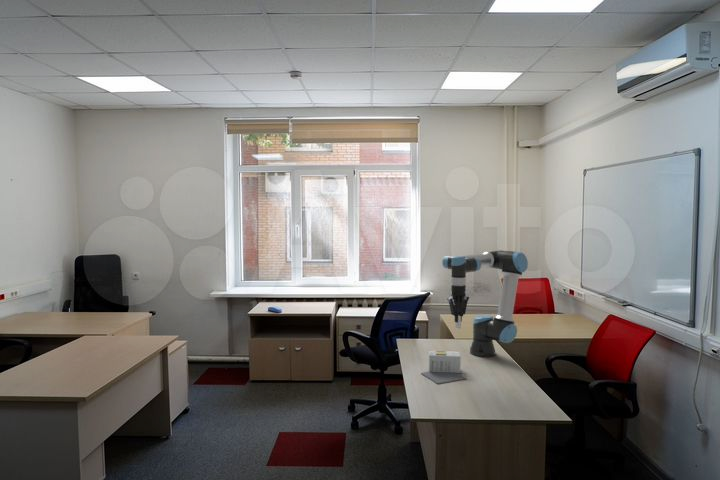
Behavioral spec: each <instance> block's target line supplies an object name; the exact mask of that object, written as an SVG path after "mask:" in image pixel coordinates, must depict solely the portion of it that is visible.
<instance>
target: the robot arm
mask: <svg viewBox="0 0 720 480" xmlns="http://www.w3.org/2000/svg"><path fill="white" fill-rule="evenodd" d="M441 263H442V266H443V268H444V269H446V270H447V269H448V270H451V281H450V282H451V288H450V289H451V290H450V291H451V294H450V297H447V298H446V299H447V301H448V303H449V304H448V305H449V308H450V314H451V315H452V316H454V322H455V328H456V329H461V328H462V321H463V317H464V315H466V311H467V306H468V302H469V299H470V296H468V295H467V294H466V287H467V286H466V284H467V283H466V280H467V277H466V276H467V275H466V274H467V273H474V272H477V271H478V272H479V271H480V270H481V268H483V267H484V268H491V269H498V270H501V273H502V275H503V278H502V284H501V290H500V296H499V297H500V298H499V303H498V308H497V309H498V310H497V315H495V316H494V317H493V316H492V315H477V316H475V317H474V318H473V322H472V323H473V327H472V330H473V331H472V332H473V333H472V337H473V338H472V339H473V340H472V342H471V346H470V349H469V353H470V354H471V355H473V356H477V357H482V358H485V357H487V358H489V357H493V356H495V355H496V349H495V346H494V341H496V342H499V343H504V344H505V343H506V344H511V343H512V342H513V341H514V340H515V338H516V337H517V334H518V328H517V327H518V326H517V325H516V324H515V320H514V319H513V315H514V310H515V309H514V308H515V304H516V295H517V290H518V286H519V285H518V283H519V278H520V277H522V276H523V273H525V272H526V271H527V269H528V265H529V264H528V263H529V261H528V258H527V256H526V254H525V253H523V252H520V251H515V250H514V251H512V250H493V251H492V250H491V251H484V252H483V253H479V254H466V255H465V254H464V255H445V256H444V257H443V258H442V262H441Z"/></svg>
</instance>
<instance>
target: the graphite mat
mask: <svg viewBox="0 0 720 480" xmlns="http://www.w3.org/2000/svg"><path fill="white" fill-rule="evenodd" d="M420 374H421V375H422V376H424V378H427V379H429V380H430V381H432V382H433V383H435V384H437V385H440V384H447V383H452V382H458V381H462V380H463V381H464V380H467V377H466V376H464V375H462V374H460V373H452V372H429V371H424V372H420Z"/></svg>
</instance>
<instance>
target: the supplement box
mask: <svg viewBox="0 0 720 480" xmlns="http://www.w3.org/2000/svg"><path fill="white" fill-rule="evenodd" d="M461 359H462V358H461V353H460V351H452V350H451V351H450V350H449V351H447V350H429V351H428V369H429V371H428V372H452V373H458V374H460V373H461V366H462V365H461V363H462V362H461Z"/></svg>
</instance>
